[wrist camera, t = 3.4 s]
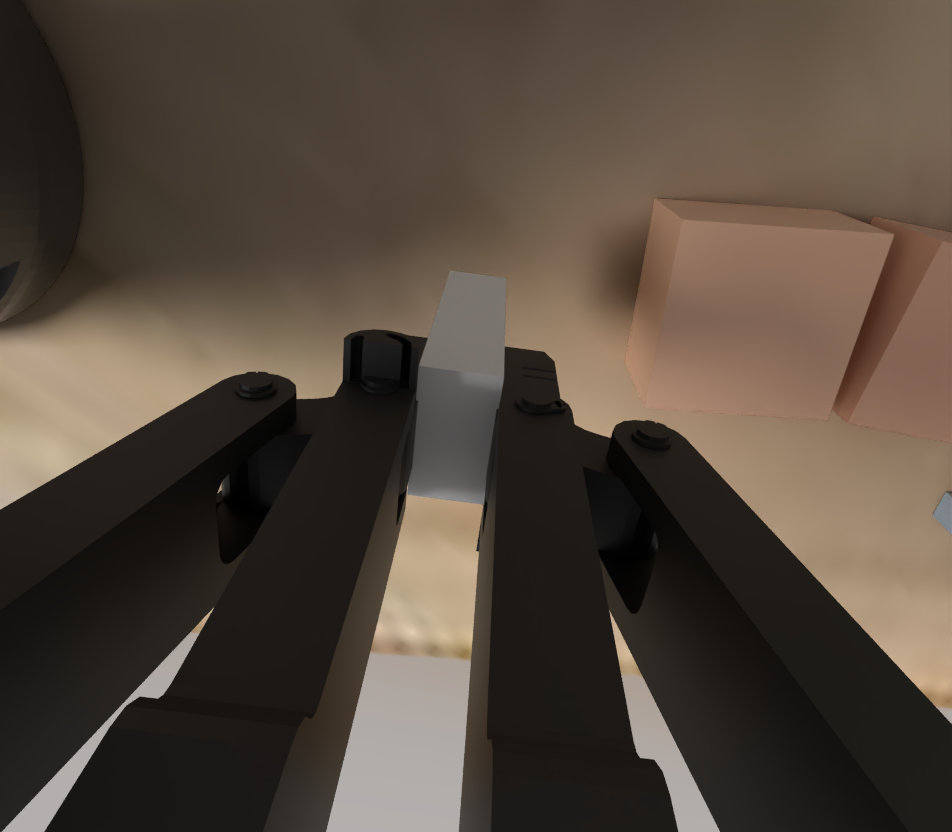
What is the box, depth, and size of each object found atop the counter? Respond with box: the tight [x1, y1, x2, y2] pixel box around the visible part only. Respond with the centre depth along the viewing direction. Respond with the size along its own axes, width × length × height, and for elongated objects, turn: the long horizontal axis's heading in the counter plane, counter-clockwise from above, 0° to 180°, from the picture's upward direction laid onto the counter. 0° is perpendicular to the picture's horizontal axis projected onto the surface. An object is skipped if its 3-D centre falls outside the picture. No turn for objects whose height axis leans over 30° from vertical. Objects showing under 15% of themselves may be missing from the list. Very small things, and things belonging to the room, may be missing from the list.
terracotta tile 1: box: [625, 198, 894, 421], centre depth 21 cm, size 6×6×4 cm
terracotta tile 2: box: [832, 216, 952, 443], centre depth 21 cm, size 6×6×4 cm
